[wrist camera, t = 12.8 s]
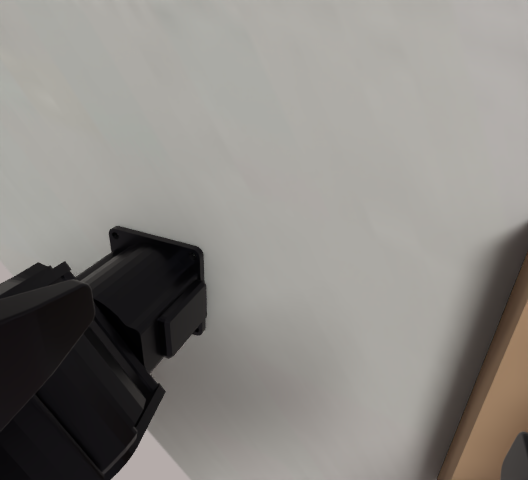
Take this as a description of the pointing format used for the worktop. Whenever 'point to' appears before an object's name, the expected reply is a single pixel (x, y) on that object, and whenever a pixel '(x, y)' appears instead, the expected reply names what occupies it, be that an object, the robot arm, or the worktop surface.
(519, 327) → the walnut base board
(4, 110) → the worktop surface
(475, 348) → the worktop surface
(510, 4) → the worktop surface
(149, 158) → the worktop surface
